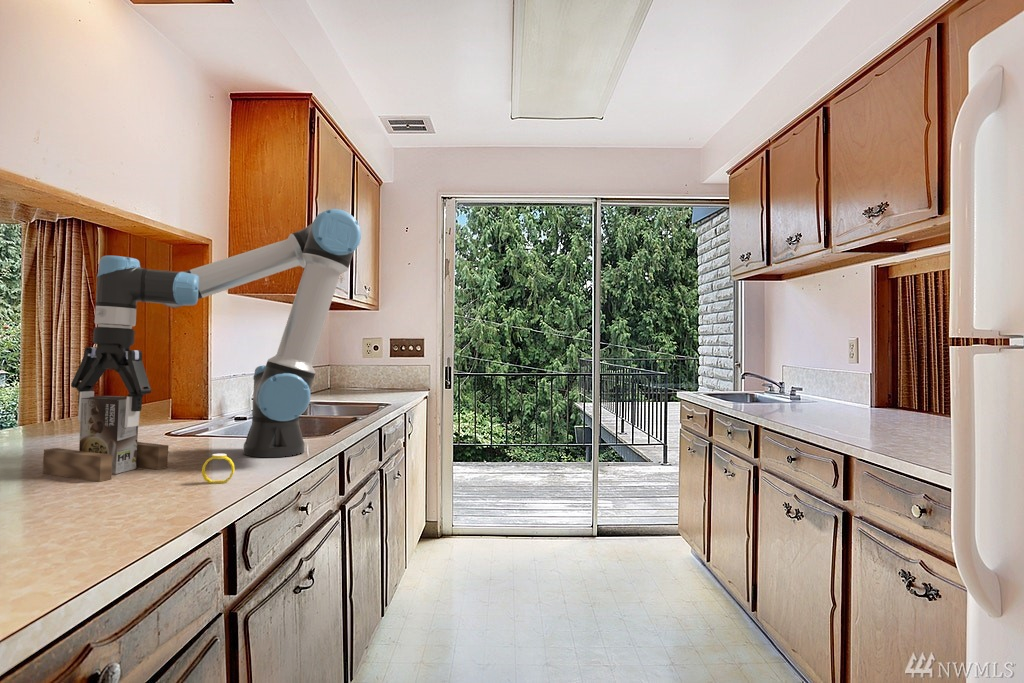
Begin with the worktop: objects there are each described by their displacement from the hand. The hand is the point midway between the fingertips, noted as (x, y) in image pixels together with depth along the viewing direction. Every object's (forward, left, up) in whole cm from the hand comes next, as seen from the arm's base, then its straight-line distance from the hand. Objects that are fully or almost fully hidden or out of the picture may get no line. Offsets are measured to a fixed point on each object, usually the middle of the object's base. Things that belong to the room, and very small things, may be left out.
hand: (108, 423), depth 128 cm
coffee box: (0, 0, -10) cm, 10 cm away
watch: (-28, -2, -11) cm, 30 cm away
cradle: (0, 0, -10) cm, 10 cm away
